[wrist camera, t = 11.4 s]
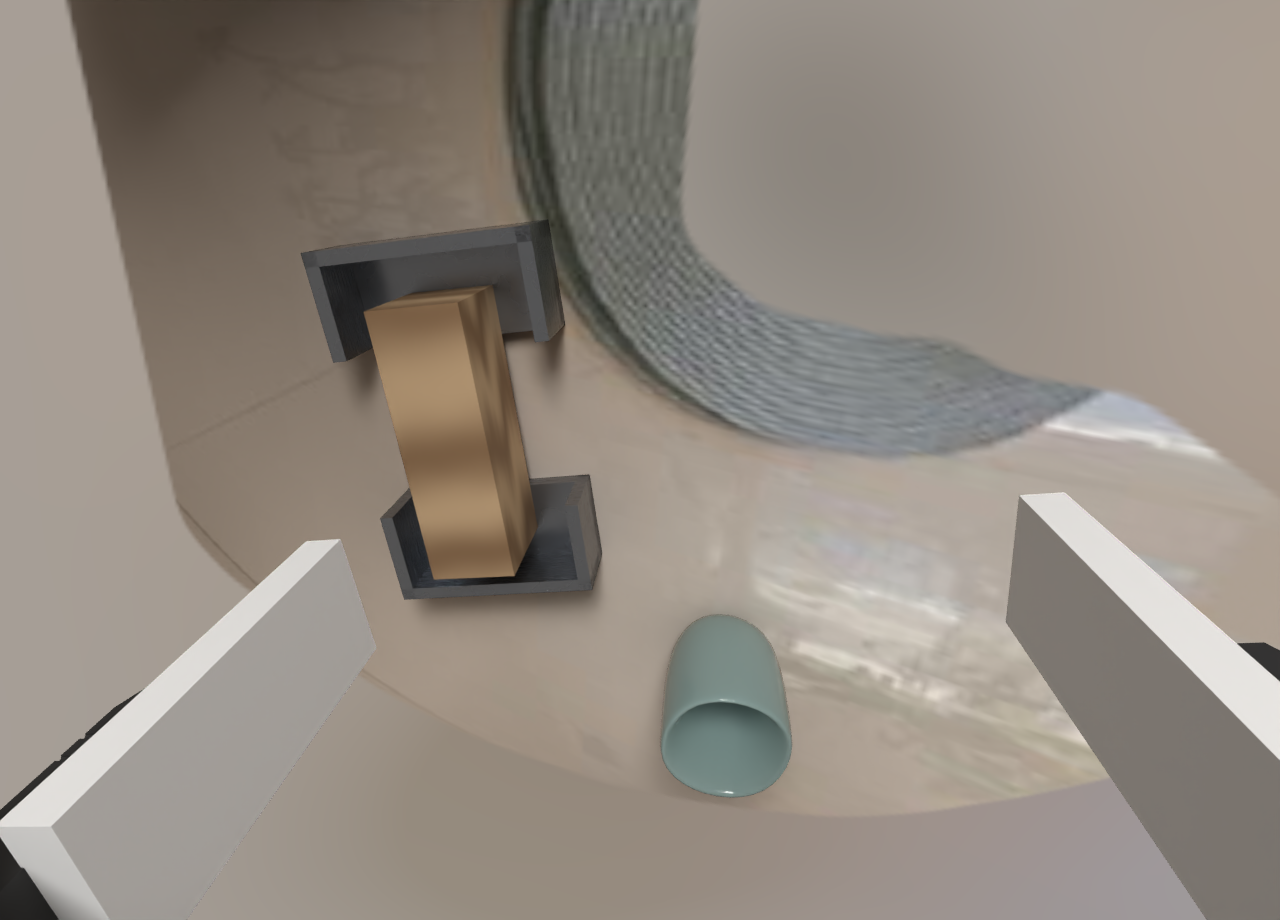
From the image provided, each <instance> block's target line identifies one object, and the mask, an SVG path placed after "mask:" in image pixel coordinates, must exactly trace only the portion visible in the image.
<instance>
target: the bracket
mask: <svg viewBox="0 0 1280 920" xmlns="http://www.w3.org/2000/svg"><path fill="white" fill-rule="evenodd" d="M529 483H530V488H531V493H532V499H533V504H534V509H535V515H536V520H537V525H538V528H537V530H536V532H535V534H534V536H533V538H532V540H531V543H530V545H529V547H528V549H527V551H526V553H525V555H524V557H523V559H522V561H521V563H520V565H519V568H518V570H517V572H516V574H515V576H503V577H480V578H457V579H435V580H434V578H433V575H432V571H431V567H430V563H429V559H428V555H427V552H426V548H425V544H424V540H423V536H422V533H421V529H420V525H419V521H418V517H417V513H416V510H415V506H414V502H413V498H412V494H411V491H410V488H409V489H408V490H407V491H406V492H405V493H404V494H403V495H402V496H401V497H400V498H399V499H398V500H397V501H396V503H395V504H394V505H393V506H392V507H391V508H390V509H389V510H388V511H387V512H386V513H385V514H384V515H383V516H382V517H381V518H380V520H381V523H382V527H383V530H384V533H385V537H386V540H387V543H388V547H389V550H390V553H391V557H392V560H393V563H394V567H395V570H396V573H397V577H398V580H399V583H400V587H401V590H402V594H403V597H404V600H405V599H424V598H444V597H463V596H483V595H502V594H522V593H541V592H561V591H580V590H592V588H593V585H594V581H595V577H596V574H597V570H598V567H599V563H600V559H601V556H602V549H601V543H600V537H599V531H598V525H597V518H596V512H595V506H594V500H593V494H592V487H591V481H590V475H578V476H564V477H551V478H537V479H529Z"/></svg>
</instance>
